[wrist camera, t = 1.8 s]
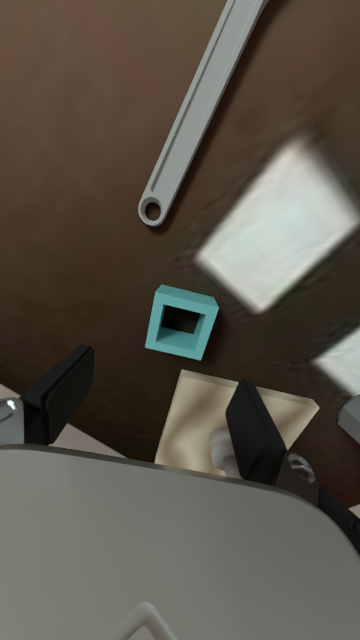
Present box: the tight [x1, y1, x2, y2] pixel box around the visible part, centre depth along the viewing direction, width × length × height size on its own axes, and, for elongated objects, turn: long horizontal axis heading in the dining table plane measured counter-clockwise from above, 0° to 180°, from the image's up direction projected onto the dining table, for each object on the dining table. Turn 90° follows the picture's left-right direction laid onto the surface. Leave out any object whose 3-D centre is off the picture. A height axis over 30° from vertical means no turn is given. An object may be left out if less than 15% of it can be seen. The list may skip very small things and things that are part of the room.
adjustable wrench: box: [138, 0, 269, 227], centre depth 14 cm, size 25×6×2 cm, turn 145°
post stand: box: [155, 370, 319, 479], centre depth 25 cm, size 20×20×10 cm
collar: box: [145, 284, 219, 360], centre depth 20 cm, size 6×6×4 cm
